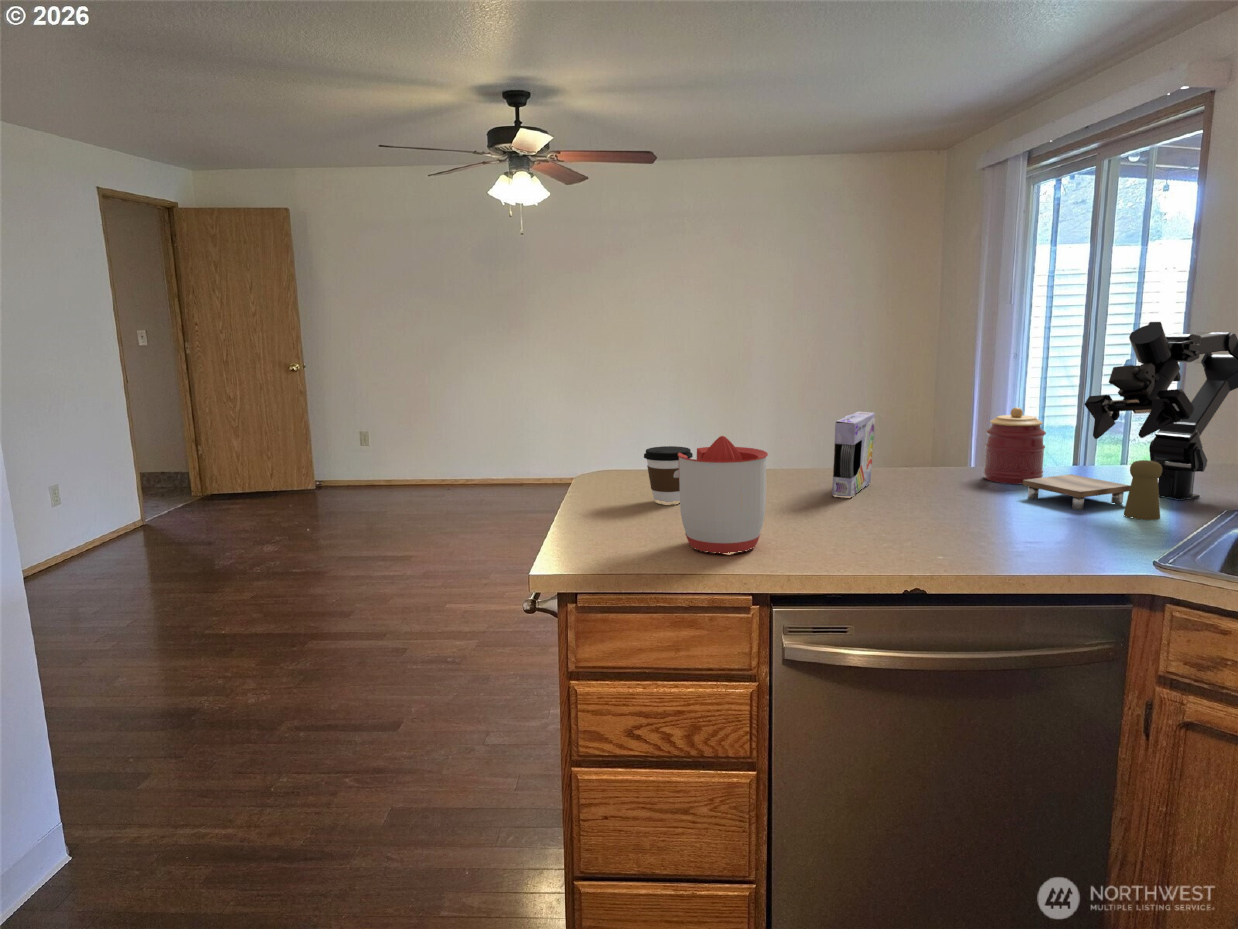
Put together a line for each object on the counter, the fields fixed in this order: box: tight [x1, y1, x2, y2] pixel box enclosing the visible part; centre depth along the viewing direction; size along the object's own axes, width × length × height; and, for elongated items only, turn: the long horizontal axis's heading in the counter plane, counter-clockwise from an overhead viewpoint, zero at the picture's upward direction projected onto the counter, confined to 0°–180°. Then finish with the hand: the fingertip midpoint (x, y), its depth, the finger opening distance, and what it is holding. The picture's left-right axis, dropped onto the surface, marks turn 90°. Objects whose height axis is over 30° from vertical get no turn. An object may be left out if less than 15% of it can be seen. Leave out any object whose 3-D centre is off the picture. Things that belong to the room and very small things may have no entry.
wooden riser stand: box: [1027, 486, 1125, 511], centre depth 166 cm, size 13×13×3 cm
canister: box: [983, 406, 1047, 485], centre depth 189 cm, size 13×13×18 cm
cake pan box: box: [831, 411, 876, 496], centre depth 180 cm, size 19×5×18 cm, turn 148°
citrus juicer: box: [674, 435, 769, 553], centre depth 138 cm, size 16×17×20 cm
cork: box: [1123, 459, 1162, 521], centre depth 152 cm, size 6×6×11 cm
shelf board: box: [1022, 473, 1131, 498], centre depth 166 cm, size 14×14×1 cm
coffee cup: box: [643, 445, 694, 502], centre depth 174 cm, size 11×11×12 cm
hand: (1116, 436), depth 153 cm, fingers open, 9 cm apart
